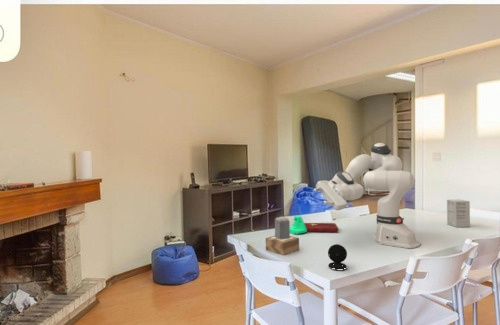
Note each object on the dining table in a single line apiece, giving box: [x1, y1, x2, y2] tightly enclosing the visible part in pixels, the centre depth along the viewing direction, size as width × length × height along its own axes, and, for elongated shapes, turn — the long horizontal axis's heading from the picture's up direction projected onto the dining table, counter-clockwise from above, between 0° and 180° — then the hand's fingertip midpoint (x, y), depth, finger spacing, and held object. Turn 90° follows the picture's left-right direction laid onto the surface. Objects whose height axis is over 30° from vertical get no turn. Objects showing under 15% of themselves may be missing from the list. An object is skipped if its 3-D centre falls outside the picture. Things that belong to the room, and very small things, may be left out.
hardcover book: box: [304, 222, 339, 234], centre depth 193 cm, size 12×21×4 cm, turn 83°
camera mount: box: [290, 215, 307, 235], centre depth 188 cm, size 12×8×10 cm, turn 34°
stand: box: [265, 235, 300, 256], centre depth 154 cm, size 12×12×6 cm
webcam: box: [327, 243, 348, 269], centre depth 128 cm, size 8×8×10 cm
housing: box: [274, 216, 291, 240], centre depth 154 cm, size 6×6×10 cm
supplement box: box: [446, 198, 471, 228], centre depth 199 cm, size 10×9×17 cm
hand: (319, 196), depth 160 cm, fingers open, 8 cm apart
